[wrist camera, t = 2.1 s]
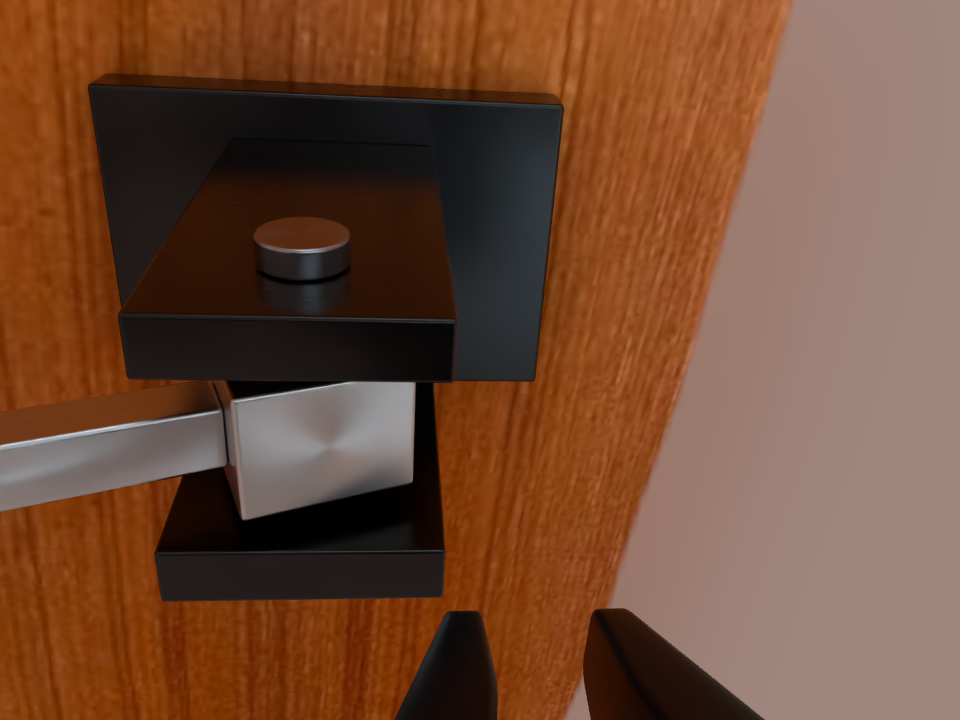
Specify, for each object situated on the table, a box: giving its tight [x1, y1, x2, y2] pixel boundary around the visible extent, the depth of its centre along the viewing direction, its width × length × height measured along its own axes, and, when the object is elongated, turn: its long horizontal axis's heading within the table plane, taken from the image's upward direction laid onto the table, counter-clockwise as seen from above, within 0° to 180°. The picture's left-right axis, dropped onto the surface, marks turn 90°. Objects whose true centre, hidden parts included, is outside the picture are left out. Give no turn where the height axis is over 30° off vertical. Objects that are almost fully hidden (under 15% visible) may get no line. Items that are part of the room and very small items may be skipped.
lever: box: [0, 380, 416, 521], centre depth 12 cm, size 11×6×2 cm, turn 86°
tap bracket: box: [88, 74, 564, 602], centre depth 17 cm, size 10×7×10 cm
